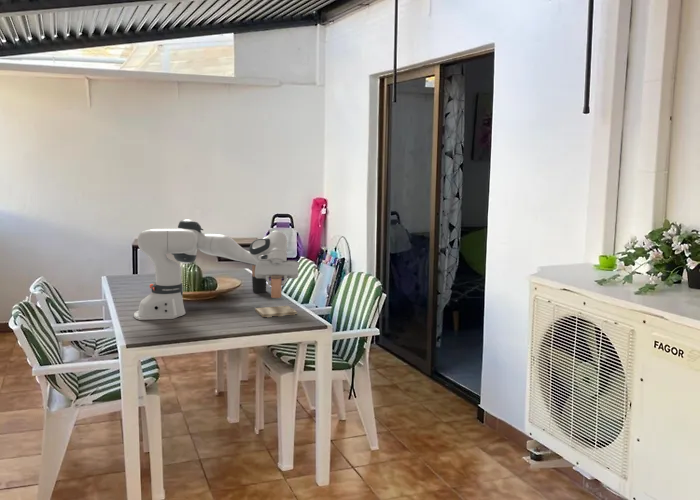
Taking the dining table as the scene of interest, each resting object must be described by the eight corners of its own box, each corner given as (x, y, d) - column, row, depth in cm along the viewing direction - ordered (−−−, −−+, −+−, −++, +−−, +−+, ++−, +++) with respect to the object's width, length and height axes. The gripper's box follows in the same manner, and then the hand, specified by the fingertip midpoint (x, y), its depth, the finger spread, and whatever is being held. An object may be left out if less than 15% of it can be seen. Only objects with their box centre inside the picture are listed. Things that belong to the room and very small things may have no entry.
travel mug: (249, 292, 347) (249, 254, 344) (257, 289, 354) (257, 253, 351) (261, 293, 344) (261, 256, 341) (269, 291, 350) (269, 254, 347)
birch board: (263, 317, 293) (263, 314, 293) (255, 311, 305) (255, 308, 304) (296, 314, 299) (296, 311, 299) (288, 308, 311) (288, 305, 311)
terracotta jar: (272, 298, 298) (272, 276, 297) (269, 296, 303) (269, 275, 301) (283, 297, 300) (283, 276, 299) (279, 295, 305) (279, 274, 303)
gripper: (299, 264, 311) (298, 288, 303) (256, 264, 310) (254, 288, 302) (299, 256, 306) (298, 281, 298) (255, 256, 305) (253, 281, 297)
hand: (276, 285), depth 300 cm, fingers closed on terracotta jar, 5 cm apart
